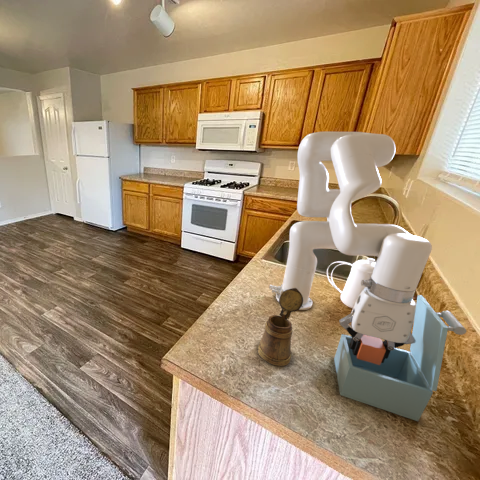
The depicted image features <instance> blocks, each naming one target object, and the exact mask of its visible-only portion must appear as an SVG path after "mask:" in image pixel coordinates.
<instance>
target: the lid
mask: <svg viewBox="0 0 480 480" xmlns="http://www.w3.org/2000/svg"><path fill="white" fill-rule="evenodd" d="M442 319H443V320H444V321H445V322H444V321H443V320H442ZM448 332H453V333H454V334H455V335H460V336H463V335H465V334H467V329H466V328H465V326H464V325H463V324H462V323H461V321H459V320H458V319H457V317H456V316H455V315H454V314H453V313H452V312H451V311H450V310H442V311H441V312H436V311H435V310H434V308H433V307H432V305H431V304H430V303H429V302H428V301H427V299H426V298H425V297H424V296H423V294H417V296H416V310H415V316H414V321H413V326H412V331H411V333H412V335H413V337H414V339H415V340H416V342H415V343H412V344H410V348H409V351H410V352H411V353H412V355H413V356H414V358H415V360H416V362H417V364H418V366H419V368H420V370H421V371H422V373H423V375H424V377H425V379H426V381H427V383H428V385H429V386H430V388H431V390H432V391H433V392H437V390H438V385H439V380H440V375H441V371H442V370H441V368H442V364H443V359H444V353H445V348H446V341H447V336H448Z"/></svg>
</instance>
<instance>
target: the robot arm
mask: <svg viewBox="0 0 480 480" xmlns="http://www.w3.org/2000/svg"><path fill="white" fill-rule="evenodd" d="M396 148H397V147H396V144H395V141H394V139H393V138H392V137H391V136H390V135H387V134H385V133H384V134H383V133H374V132H373V133H371V132H364V131H317V132H312V133H308V134H307V135H306V136H304V138H302V140H301V141H300V144H299V146H298V150H297V157H296V158H297V166H298V172H299V181H298V190H297V191H298V192H297V201H296V203H297V204H296V210H297V213H298V215H300V216H301V217H306V218H326V221H325V220H324V221H320V220H302V221H297V222H295V223H294V224H292V226H290V229H289V233H288V234H289V236H288V238H289V241H288V242H289V244H288V245H289V247H288V253H287V254H288V255H287V260H286V265H285V270H284V276H283V280H282V284H281V285H273V284H269V285H268V290H270V291H271V293H272V294H275V299H276V300H277V302H279V299H280V296H281V294H282V292H283V291H285V290H288V289H292V288H297V289H298V290H299V292H300V293H301V294H302V297H303V304H302V306H301V308H300V309H299V310H298V311H306V310H309V309H311V308H312V307H313V299H312V298H310V295H311V291H312V286H313V283H314V279H315V274H316V270H317V266H318V258H317V255H316V254H315V253H314V250H319V249H320V250H322V249H324V250H338V251H339V253H341V254H343V255H345V256H355V257H356V256H357V257H358V256H360V257H368V256H369V257H377V258H376V260H375V262H376V264H375V267H374V270H373V273H372V276H371V277H370V279H369V280H362V281H361V285H362V286H365V288H364V289H363V291H362V292H361V294H360V295H359V297H358V299H357V301H356V303H355V305H354V307H353V309H352V310H351V312H350V313H349V314H347V315H345V316H343V317H342V318H340V319H339V320H338V323H339V326H341V327H342V328H343V329H344V330H346V332H347V333H348V334H349V336H352V339H351V342H350V349H352V352H353V355H357V353H358V350H359V347H360V344H361V342H360V339H361V338H362V336H363V335H368V336H372V337H375V338H379V339H381V340H382V342H383V344H384V347H385V349H386V352H385V354H384V357H383V359H382V362H381V363H384V360H385V358H386V359H387V358H388V356H389V353H390V351H391V350H394V349H395V348H399V347H403V346H405V345H411V344H412V343H415V342H416V340H415V339H414V337H413V335H412V330H413V325H414V317H415V310H416V303H417V301H415V300H414V296H415V293H416V290H417V288H418V286H419V283H420V280H421V277H422V275H423V273H424V270H425V267H426V265H427V263H428V260H429V258H430V256H431V253H432V250H433V246H432V243H431V242H430V241H429V240H428V239H426V238H423V237H421V236H418V235H413V234H411V233H410V232H408V231H407V230H406V229H404V228H403V227H401V226H399V225H396V224H390V223H355V221H354V218H353V215H352V202H354V201H357V200H359V199H362V198H365V197H367V196H370V195H371V194H373V193H375V192H376V191H378V190H379V189H380V188H381V186H382V178H381V176H380V173H379V169H378V168H381V167H384V166H386V165H388V164H390V162H391V161H392V160H393V158H394V157H395V154H396ZM322 161H323V162H326V161H327V162H332V166H333V170H334V172H335V176H336V180H337V183H338V188H339V189H337V188H329V180H330V175H329V172H328V170H327V167H326V165H325V164H324V163H323V162H322Z"/></svg>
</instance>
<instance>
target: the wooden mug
mask: <svg viewBox="0 0 480 480" xmlns="http://www.w3.org/2000/svg"><path fill="white" fill-rule="evenodd" d="M278 303H279V306H280V308H281V310H280V313H279V315H277V314H273V315H270V316H269V317H268V319H267V320H266V322H265V325H264V332H263V333H262V337H261V340H260V341H259V344H258V347H257V353H258V355H259V357H260V358H261V359H262V360H264V361H265V362H266V363H269V364H271V365H273V366H278V367H284V366H288V365H289V364H290V362H291V360H292V347H291V346H292V335H293V323H292V322H291V321H290V320H289V319H290V316H291V314H292V313H294V312H297V311H300V310H299V309H300V308H301V306H302V304H303V297H302V294H301V293H300V292H299V290H298V289H297V288H292V289H288V290H285V291H283V292H282V294H281V296H280V299H279V301H278Z"/></svg>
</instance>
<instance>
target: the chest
mask: <svg viewBox="0 0 480 480" xmlns="http://www.w3.org/2000/svg"><path fill="white" fill-rule="evenodd" d="M351 339H352V336H351V335H348V334H344V333H341V335H340V339H339V341H338V346H337V348H336V352H335V355H334V358H333V360H334V367H335V372H336V379H337V385H338V390H339V395H340V396H342V397H345V398H348V399H350V400H353V401H357V402H359V403H362V404H365V405H368V406H371V407H374V408H377V409H380V410H383V411H386V412H388V413H389V412H390V413H392V414H395V415H398V416H401V417H403V418H407V419H409V420H413V421H415V422H419V421H420V419H421V417H422V415H423V413H424V412H425V410H426V408H427V405H428V404H429V401H430V400H431V398H432V396H433V394H434V391H432V390H431V388H430V386H429V385H428V383H427V381H426V379H425V377H424V375H423V373H422V371H421V370H420V368H419V366H418V364H417V362H416V360H415V358H414V356H413V355H412V353H411V351H410V350H406V349H402V348H399V347H396V348H395V349H394V350H391V351H390V353H389V356H388V358H387V359H386V358H385V360H384V363H381V364H380V365H377V364H374V363H370V362H367V361H363V360H360V359H357V356H356V355H353V352H352V349H350V342H351Z"/></svg>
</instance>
